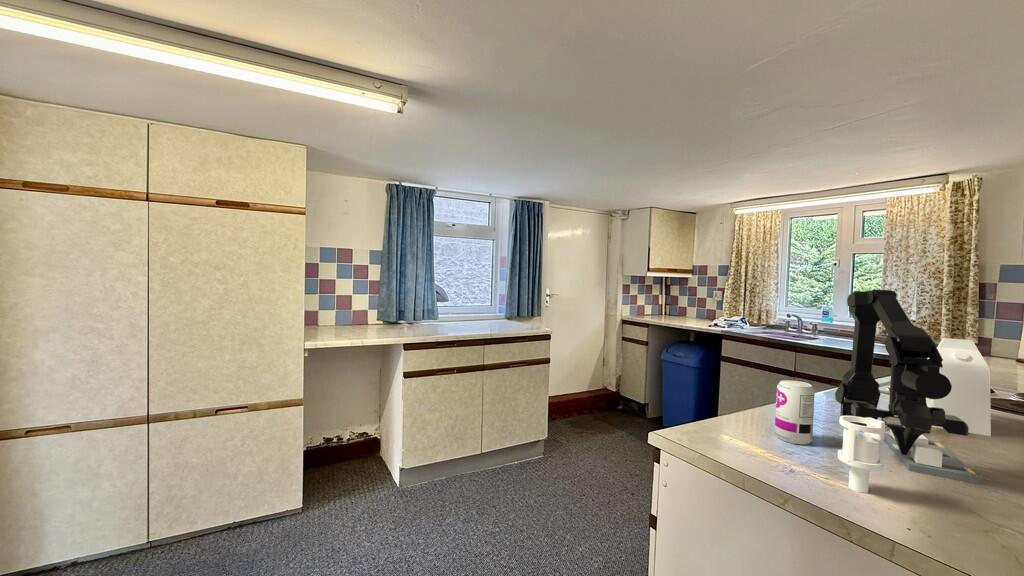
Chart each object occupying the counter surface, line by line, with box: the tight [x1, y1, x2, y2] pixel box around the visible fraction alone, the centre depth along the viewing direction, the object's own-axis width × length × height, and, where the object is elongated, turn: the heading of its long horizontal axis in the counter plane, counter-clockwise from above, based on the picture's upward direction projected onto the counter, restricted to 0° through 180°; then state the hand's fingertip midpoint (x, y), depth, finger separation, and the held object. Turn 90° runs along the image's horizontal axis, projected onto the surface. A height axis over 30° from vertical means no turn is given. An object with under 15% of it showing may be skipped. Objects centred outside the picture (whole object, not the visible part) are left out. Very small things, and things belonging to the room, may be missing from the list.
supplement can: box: [774, 379, 816, 446], centre depth 108 cm, size 8×8×15 cm
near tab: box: [911, 442, 943, 468], centre depth 92 cm, size 4×4×4 cm
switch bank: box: [882, 432, 981, 485], centre depth 98 cm, size 11×22×2 cm, turn 150°
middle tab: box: [909, 434, 929, 451], centre depth 99 cm, size 4×4×4 cm
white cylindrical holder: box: [837, 416, 886, 494], centre depth 82 cm, size 7×7×15 cm
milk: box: [926, 337, 992, 437], centre depth 122 cm, size 12×12×26 cm
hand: (903, 454), depth 94 cm, fingers closed
